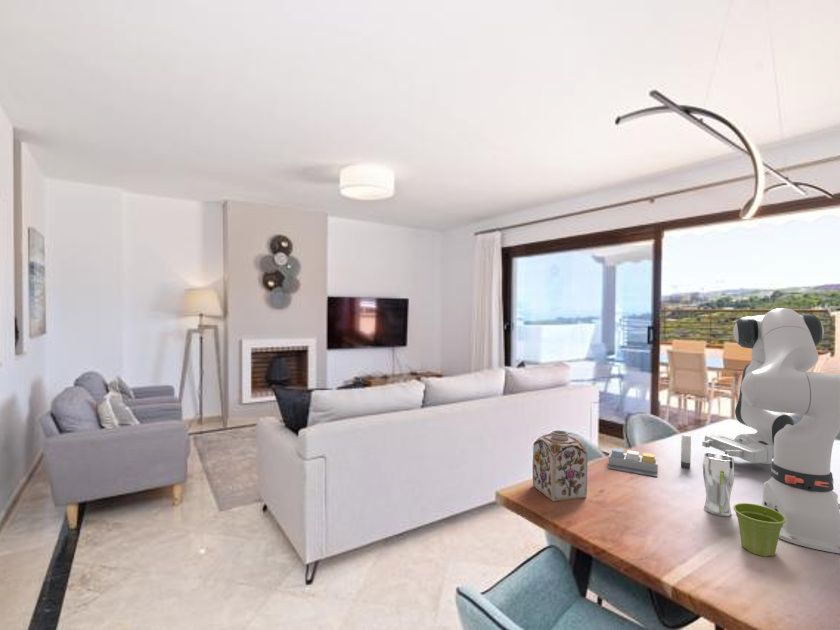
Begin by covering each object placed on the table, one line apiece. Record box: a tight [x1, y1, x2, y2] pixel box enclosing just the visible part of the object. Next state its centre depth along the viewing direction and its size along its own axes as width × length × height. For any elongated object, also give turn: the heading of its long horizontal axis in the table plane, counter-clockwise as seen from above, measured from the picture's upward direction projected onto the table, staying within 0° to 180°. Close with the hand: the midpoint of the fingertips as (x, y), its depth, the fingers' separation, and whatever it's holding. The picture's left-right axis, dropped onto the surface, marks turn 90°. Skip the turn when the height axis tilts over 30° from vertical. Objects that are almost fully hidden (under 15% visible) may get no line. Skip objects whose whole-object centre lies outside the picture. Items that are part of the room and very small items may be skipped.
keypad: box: [607, 451, 659, 478], centre depth 150 cm, size 13×15×3 cm
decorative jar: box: [532, 429, 589, 502], centre depth 129 cm, size 12×12×18 cm
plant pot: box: [733, 502, 786, 557], centre depth 99 cm, size 9×9×9 cm
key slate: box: [611, 447, 625, 459], centre depth 152 cm, size 4×4×3 cm
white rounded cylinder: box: [680, 434, 692, 470], centre depth 150 cm, size 3×3×11 cm
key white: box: [626, 449, 640, 461], centre depth 150 cm, size 4×4×3 cm
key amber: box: [642, 452, 656, 464], centre depth 148 cm, size 4×4×3 cm
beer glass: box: [702, 452, 735, 517], centre depth 117 cm, size 7×7×15 cm
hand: (714, 448), depth 152 cm, fingers open, 8 cm apart
